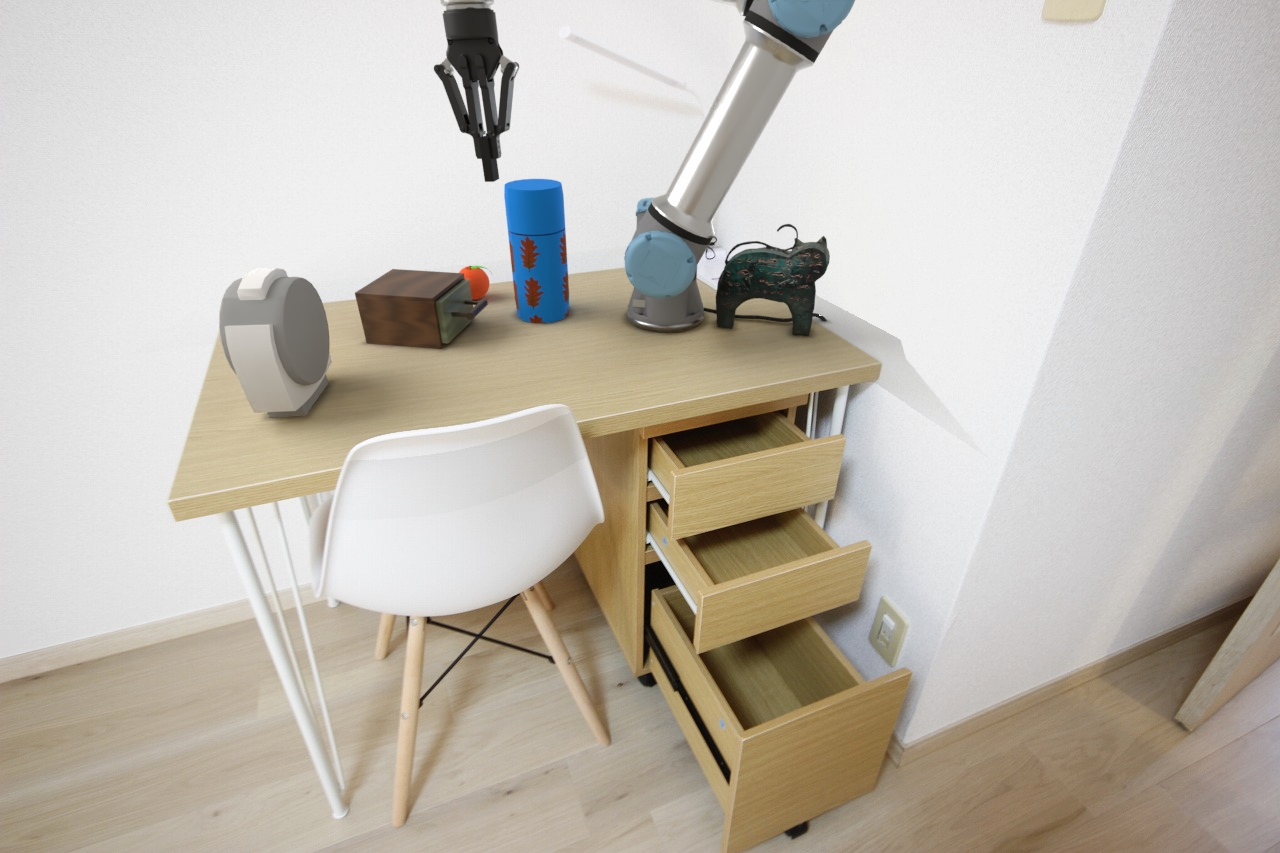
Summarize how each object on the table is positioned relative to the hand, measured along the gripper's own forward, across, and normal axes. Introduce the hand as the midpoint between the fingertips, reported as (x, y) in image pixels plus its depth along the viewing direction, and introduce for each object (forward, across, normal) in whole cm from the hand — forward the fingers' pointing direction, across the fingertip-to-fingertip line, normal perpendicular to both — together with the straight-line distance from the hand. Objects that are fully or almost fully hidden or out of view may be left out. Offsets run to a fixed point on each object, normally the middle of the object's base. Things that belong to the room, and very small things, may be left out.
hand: (492, 180), depth 105 cm
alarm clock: (+28, -26, -27) cm, 46 cm away
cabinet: (+28, -19, +1) cm, 33 cm away
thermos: (+28, +2, +14) cm, 31 cm away
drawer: (+27, -15, +1) cm, 31 cm away
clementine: (+28, -15, +20) cm, 37 cm away
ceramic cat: (+30, +46, +12) cm, 56 cm away
